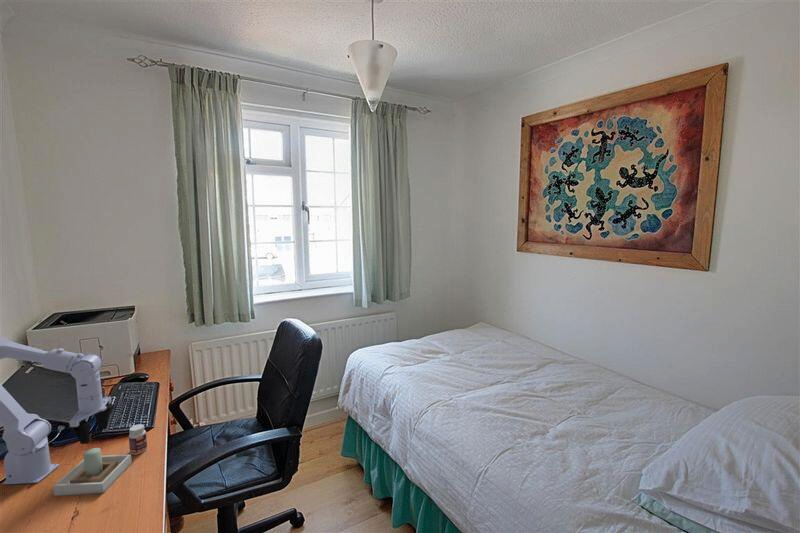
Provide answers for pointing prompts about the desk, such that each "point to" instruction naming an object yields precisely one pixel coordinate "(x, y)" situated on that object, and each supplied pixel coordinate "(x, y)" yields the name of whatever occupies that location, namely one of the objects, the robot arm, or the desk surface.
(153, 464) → the desk surface
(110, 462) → the tray
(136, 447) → the pill bottle
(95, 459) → the peg
